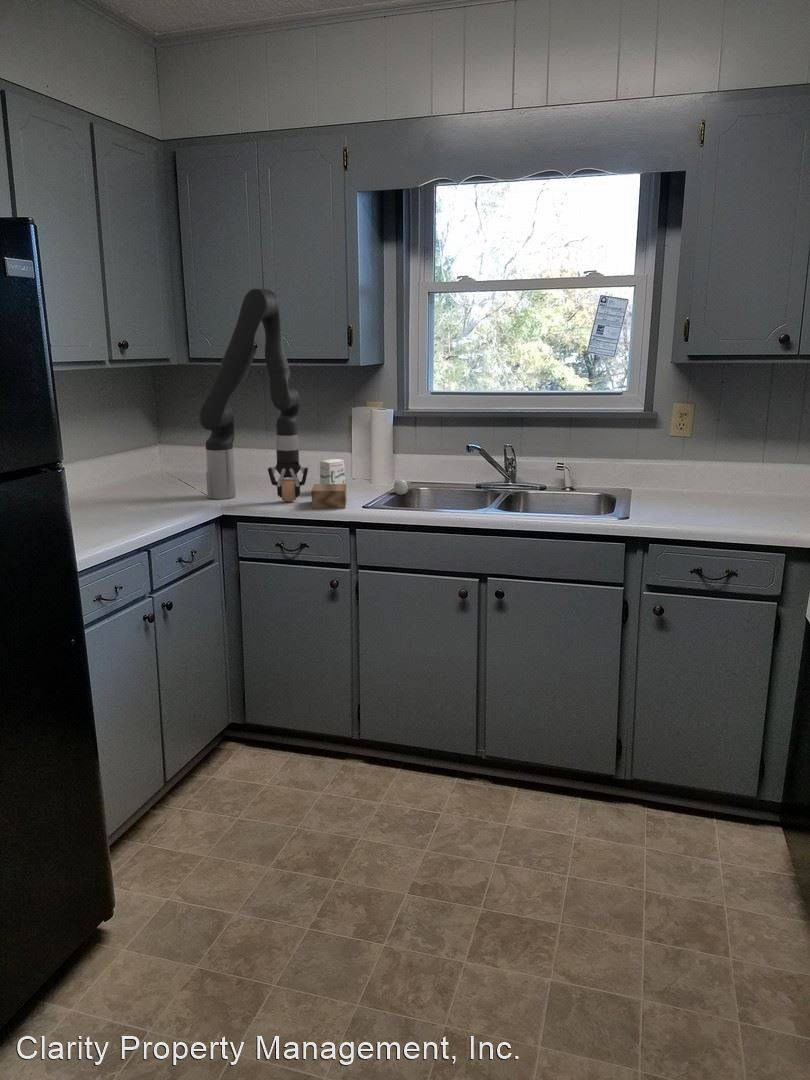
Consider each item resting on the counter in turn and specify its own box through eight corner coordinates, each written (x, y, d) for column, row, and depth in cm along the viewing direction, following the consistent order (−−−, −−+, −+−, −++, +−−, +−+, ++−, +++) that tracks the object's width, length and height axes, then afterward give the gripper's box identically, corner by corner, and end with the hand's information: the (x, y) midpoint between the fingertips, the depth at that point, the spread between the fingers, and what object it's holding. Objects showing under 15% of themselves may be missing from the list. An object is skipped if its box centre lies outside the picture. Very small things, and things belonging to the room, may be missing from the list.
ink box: (330, 495, 286) (329, 462, 283) (319, 493, 289) (318, 461, 286) (346, 491, 293) (345, 459, 290) (335, 490, 296) (334, 458, 293)
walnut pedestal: (312, 508, 264) (311, 491, 262) (314, 501, 276) (314, 484, 274) (345, 508, 264) (344, 490, 263) (346, 501, 276) (346, 483, 274)
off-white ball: (409, 482, 285) (408, 479, 290) (395, 480, 285) (394, 477, 290) (407, 495, 287) (406, 492, 291) (393, 493, 286) (392, 491, 291)
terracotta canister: (280, 501, 272) (280, 481, 270) (282, 498, 277) (281, 478, 275) (295, 501, 272) (295, 481, 271) (296, 498, 277) (296, 478, 275)
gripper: (264, 449, 266) (266, 499, 271) (307, 449, 267) (309, 499, 271) (267, 446, 273) (269, 494, 278) (309, 446, 274) (310, 494, 278)
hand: (289, 496), depth 274 cm, fingers closed on terracotta canister, 5 cm apart
